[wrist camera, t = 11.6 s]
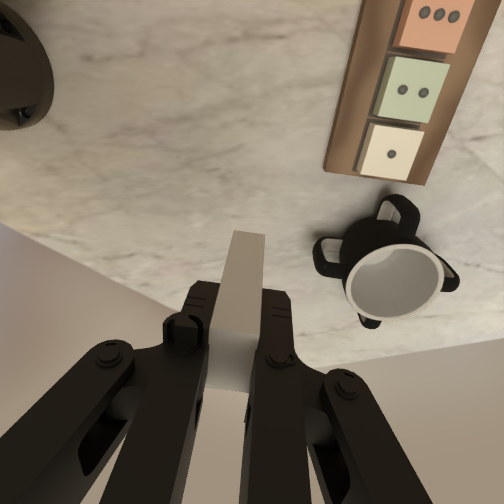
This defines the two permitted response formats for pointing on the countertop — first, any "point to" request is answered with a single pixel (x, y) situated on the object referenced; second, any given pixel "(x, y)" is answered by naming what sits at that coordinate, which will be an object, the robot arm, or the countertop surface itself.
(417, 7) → the key
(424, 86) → the key
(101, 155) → the countertop surface
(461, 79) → the board
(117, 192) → the countertop surface
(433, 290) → the mug
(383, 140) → the key
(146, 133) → the countertop surface
